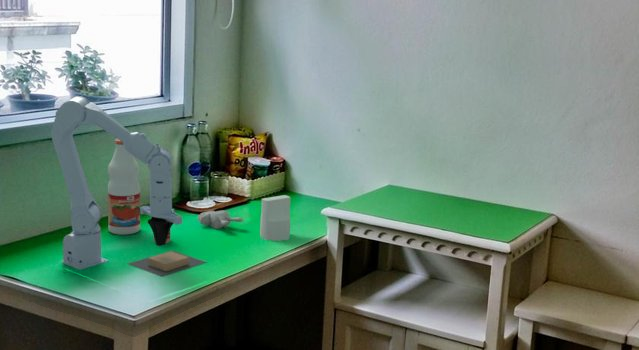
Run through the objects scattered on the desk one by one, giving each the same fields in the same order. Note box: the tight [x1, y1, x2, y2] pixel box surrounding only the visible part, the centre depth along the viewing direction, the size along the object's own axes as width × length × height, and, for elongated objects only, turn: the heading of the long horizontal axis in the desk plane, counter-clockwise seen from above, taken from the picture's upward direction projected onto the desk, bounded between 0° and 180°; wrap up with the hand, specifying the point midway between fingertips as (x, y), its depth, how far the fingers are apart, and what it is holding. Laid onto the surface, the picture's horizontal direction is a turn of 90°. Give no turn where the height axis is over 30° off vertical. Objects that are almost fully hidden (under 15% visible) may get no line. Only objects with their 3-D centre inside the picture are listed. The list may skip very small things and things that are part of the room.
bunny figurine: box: [197, 209, 244, 230], centre depth 261 cm, size 10×5×15 cm
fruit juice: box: [107, 138, 141, 236], centre depth 250 cm, size 9×9×28 cm
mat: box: [127, 250, 208, 278], centre depth 225 cm, size 16×14×1 cm
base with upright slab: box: [259, 194, 291, 242], centre depth 253 cm, size 9×9×12 cm
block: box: [147, 250, 189, 271], centre depth 223 cm, size 8×2×7 cm
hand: (160, 244), depth 224 cm, fingers closed
